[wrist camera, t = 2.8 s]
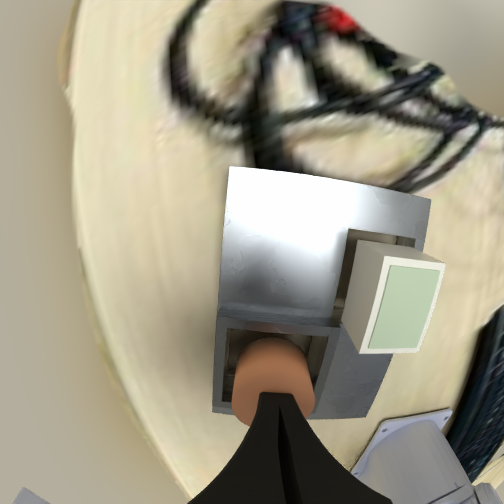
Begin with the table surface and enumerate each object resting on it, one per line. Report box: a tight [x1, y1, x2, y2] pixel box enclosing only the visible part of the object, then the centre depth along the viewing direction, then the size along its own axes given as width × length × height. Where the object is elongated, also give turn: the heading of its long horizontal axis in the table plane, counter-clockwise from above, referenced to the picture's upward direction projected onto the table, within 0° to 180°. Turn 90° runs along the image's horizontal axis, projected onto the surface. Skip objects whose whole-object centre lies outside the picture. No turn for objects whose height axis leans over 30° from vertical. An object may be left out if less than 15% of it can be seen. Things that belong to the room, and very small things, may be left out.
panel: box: [212, 166, 431, 419], centre depth 14 cm, size 14×10×3 cm
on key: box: [341, 240, 446, 354], centre depth 11 cm, size 4×3×3 cm
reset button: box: [231, 338, 315, 426], centre depth 12 cm, size 4×4×3 cm
